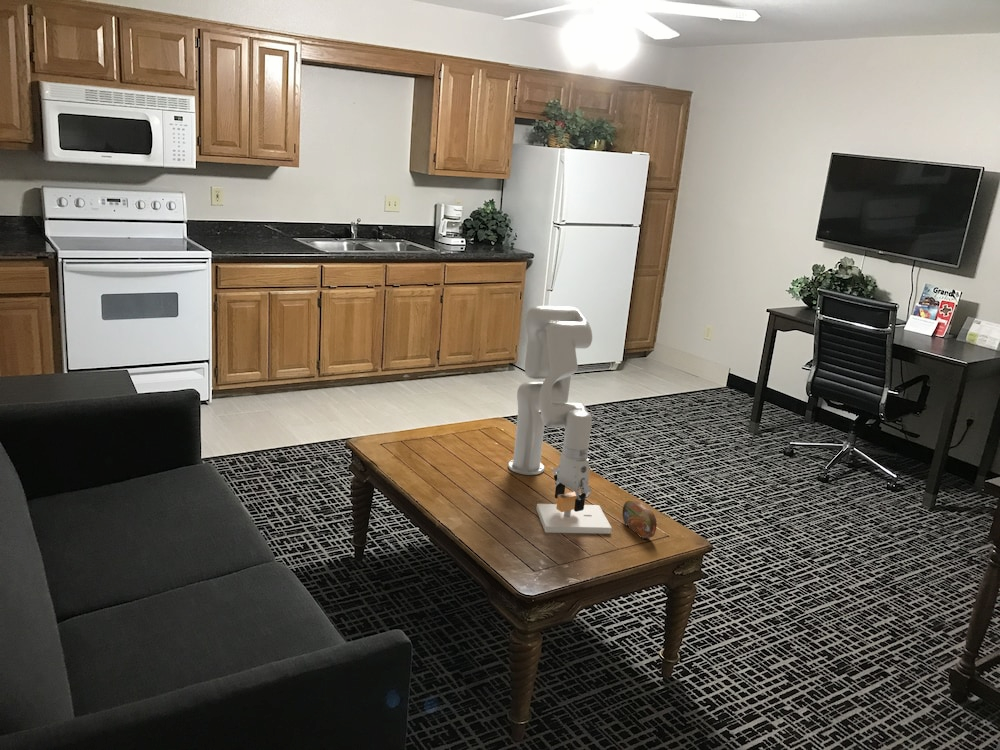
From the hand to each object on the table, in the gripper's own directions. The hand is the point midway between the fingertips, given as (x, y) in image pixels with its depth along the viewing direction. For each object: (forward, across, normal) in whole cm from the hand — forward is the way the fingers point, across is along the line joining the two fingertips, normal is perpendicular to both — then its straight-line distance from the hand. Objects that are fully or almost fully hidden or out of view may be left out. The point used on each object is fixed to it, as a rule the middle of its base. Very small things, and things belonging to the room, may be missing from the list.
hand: (568, 503), depth 243 cm
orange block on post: (+2, 0, 0) cm, 2 cm away
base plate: (+6, 0, -2) cm, 6 cm away
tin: (+6, -14, -17) cm, 22 cm away
